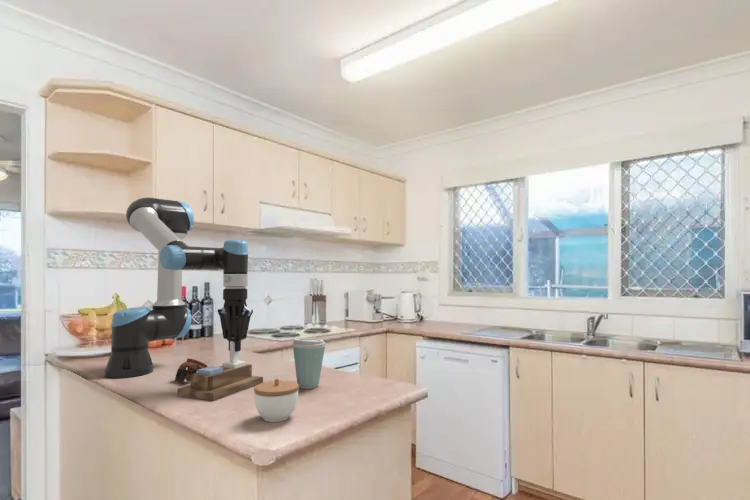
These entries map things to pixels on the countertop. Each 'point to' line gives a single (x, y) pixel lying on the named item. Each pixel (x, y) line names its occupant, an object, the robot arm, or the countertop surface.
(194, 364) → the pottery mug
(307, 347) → the disposable coffee cup
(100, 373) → the countertop surface
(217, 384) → the wooden stepped stand
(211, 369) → the light blue block
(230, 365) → the white block
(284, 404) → the lidded jar
